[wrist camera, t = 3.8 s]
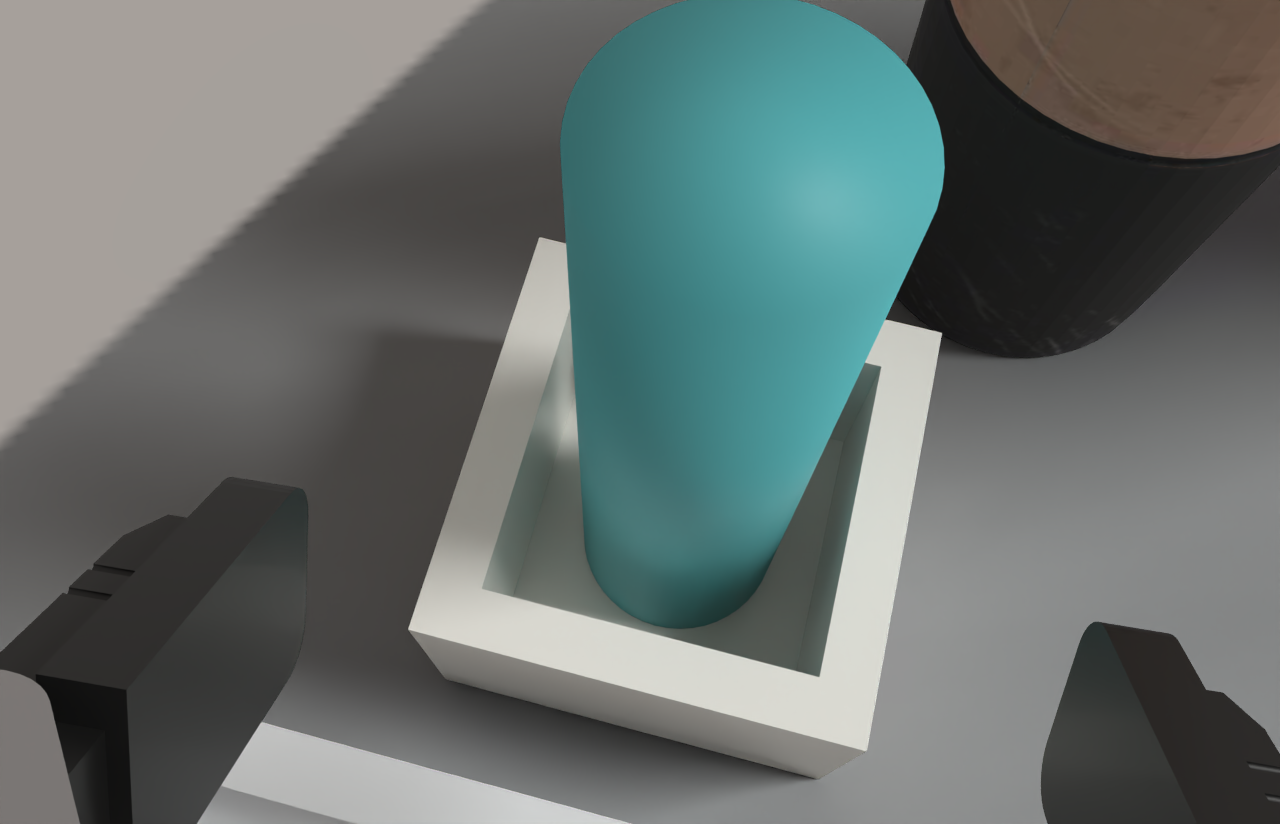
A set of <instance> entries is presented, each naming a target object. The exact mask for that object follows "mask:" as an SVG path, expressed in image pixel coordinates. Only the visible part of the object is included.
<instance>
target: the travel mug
mask: <svg viewBox="0 0 1280 824" xmlns="http://www.w3.org/2000/svg"><path fill="white" fill-rule="evenodd" d="M906 66H907V67H908V68H909V69H910V70H911V72H912V73H913V75H914V76H915V77H916V79H917V80H918V82H919V83H920V85H921V86H922V88H923V89H924V91H925V93H926V95H927V97H928V99H929V101H930V103H931V105H932V107H933V110H934V112H935V115H936V118H937V121H938V123H939V126H940V131H941V136H942V141H943V146H944V165H945V169H944V178H943V187H942V192H941V195H940V199H939V203H938V206H937V210H936V212H935V214H934V216H933V219H932V221H931V223H930V225H929V227H928V230H927V232H926V234H925V236H924V238H923V240H922V242H921V244H920V247H919V249H918V251H917V253H916V255H915V257H914V259H913V261H912V264H911V266H910V268H909V270H908V272H907V274H906V276H905V278H904V281H903V283H902V285H901V287H900V289H899V291H898V293H897V297H898V298H899V299H900V301H901V302H902V303H903V304H904V305H905V306H906V307H907V308H908V309H909V310H910V311H911V312H912V313H913V314H914V315H915V316H917V317H918V318H919V319H920V320H922V321H923V322H924V323H926V324H927V325H928V326H929V327H931V328H933V329H934V330H936V331H937V332H941V333H942V335H944V336H946V337H948V338H950V339H952V340H954V341H956V342H958V343H960V344H963V345H965V346H968V347H971V348H974V349H977V350H980V351H983V352H988V353H992V354H997V355H1002V356H1012V357H1043V356H1050V355H1057V354H1061V353H1065V352H1068V351H1072V350H1076V349H1078V348H1081V347H1083V346H1085V345H1088V344H1090V343H1092V342H1095V341H1097V340H1098V339H1100V338H1102V337H1103V336H1105V335H1106V334H1108V333H1110V332H1111V331H1112V330H1113V329H1115V328H1116V327H1117V326H1118V325H1119V324H1121V323H1122V322H1123V321H1124V320H1125V319H1127V318H1128V317H1129V316H1130V315H1131V314H1132V313H1133V312H1134V311H1135V310H1136V309H1138V308H1139V307H1140V306H1141V305H1142V304H1143V303H1144V302H1145V301H1146V300H1147V299H1148V298H1149V297H1150V296H1151V295H1152V294H1153V293H1154V292H1155V291H1156V290H1157V289H1158V288H1159V287H1160V286H1161V285H1162V284H1163V283H1164V282H1165V281H1166V280H1167V279H1168V278H1169V277H1170V276H1171V275H1172V274H1173V273H1174V272H1175V271H1176V270H1177V269H1178V268H1179V267H1180V266H1181V265H1182V264H1183V263H1184V262H1185V261H1186V260H1187V259H1188V258H1189V257H1190V255H1191V254H1192V253H1193V252H1194V251H1195V250H1196V249H1197V248H1198V247H1199V246H1200V245H1201V244H1202V243H1203V242H1204V241H1205V240H1206V239H1207V238H1208V237H1209V236H1210V235H1211V234H1212V233H1213V232H1214V231H1215V230H1216V229H1217V228H1218V227H1219V226H1220V225H1221V224H1222V223H1223V222H1224V221H1225V220H1226V219H1227V218H1228V217H1229V216H1230V215H1231V214H1232V213H1233V212H1234V211H1235V210H1236V209H1237V208H1238V207H1239V206H1240V205H1241V204H1242V203H1243V202H1244V201H1245V200H1246V199H1247V198H1248V197H1249V196H1250V195H1251V194H1252V193H1253V192H1254V191H1255V190H1256V189H1257V188H1258V187H1259V186H1260V185H1261V183H1262V182H1263V181H1264V180H1265V179H1266V178H1267V177H1268V176H1269V175H1270V174H1271V173H1272V172H1273V171H1274V170H1275V169H1276V168H1277V167H1278V166H1279V165H1280V0H926V2H925V5H924V8H923V12H922V15H921V18H920V22H919V25H918V28H917V32H916V35H915V38H914V42H913V45H912V48H911V52H910V55H909V58H908V61H907V65H906Z"/></svg>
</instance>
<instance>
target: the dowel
mask: <svg viewBox="0 0 1280 824" xmlns="http://www.w3.org/2000/svg"><path fill="white" fill-rule="evenodd" d="M560 153H561V171H562V187H563V203H564V219H565V235H566V252H567V268H568V284H569V300H570V317H571V333H572V349H573V365H574V381H575V398H576V414H577V430H578V446H579V462H580V479H581V495H582V511H583V527H584V544H585V551H586V556H587V560H588V563H589V566H590V569H591V571H592V573H593V576H594V578H595V580H596V581H597V583H598V584H599V586H600V587H601V589H602V590H603V592H604V593H605V594H606V595H607V596H608V597H609V598H610V600H611V601H612V602H614V603H615V604H616V605H617V606H618V607H619V608H620V609H622V610H623V611H625V612H626V613H628V614H629V615H631V616H633V617H635V618H637V619H639V620H641V621H643V622H646V623H649V624H652V625H655V626H660V627H665V628H676V629H685V628H695V627H700V626H705V625H708V624H711V623H714V622H717V621H719V620H721V619H723V618H725V617H727V616H729V615H730V614H732V613H733V612H735V611H736V610H738V609H739V608H740V607H741V606H742V605H744V604H745V603H746V602H747V601H748V600H749V599H750V597H751V596H752V595H753V594H754V593H755V592H756V590H757V588H758V587H759V585H760V584H761V582H762V580H763V578H764V576H765V574H766V572H767V570H768V567H769V565H770V563H771V561H772V559H773V557H774V555H775V553H776V550H777V548H778V546H779V544H780V542H781V540H782V538H783V536H784V533H785V531H786V529H787V527H788V525H789V523H790V521H791V519H792V516H793V514H794V512H795V510H796V508H797V506H798V504H799V502H800V499H801V497H802V495H803V493H804V491H805V489H806V487H807V485H808V482H809V480H810V478H811V476H812V474H813V472H814V470H815V468H816V465H817V463H818V461H819V459H820V457H821V455H822V453H823V451H824V448H825V446H826V444H827V442H828V440H829V438H830V436H831V434H832V431H833V429H834V427H835V425H836V423H837V421H838V419H839V417H840V414H841V412H842V410H843V408H844V406H845V404H846V402H847V400H848V397H849V395H850V393H851V391H852V389H853V387H854V385H855V383H856V380H857V378H858V376H859V374H860V372H861V370H862V368H863V366H864V363H865V361H866V359H867V357H868V355H869V353H870V351H871V349H872V346H873V344H874V342H875V340H876V338H877V336H878V334H879V332H880V329H881V327H882V325H883V323H884V321H885V319H886V317H887V315H888V312H889V310H890V308H891V306H892V304H893V302H894V300H895V298H896V295H897V293H898V291H899V289H900V287H901V285H902V283H903V281H904V278H905V276H906V274H907V272H908V270H909V268H910V266H911V264H912V261H913V259H914V257H915V255H916V253H917V251H918V249H919V247H920V244H921V242H922V240H923V238H924V236H925V234H926V232H927V230H928V227H929V225H930V223H931V221H932V219H933V216H934V214H935V212H936V210H937V206H938V203H939V199H940V195H941V192H942V187H943V178H944V169H945V165H944V146H943V141H942V136H941V131H940V126H939V123H938V121H937V118H936V115H935V112H934V110H933V107H932V105H931V103H930V101H929V99H928V97H927V95H926V93H925V91H924V89H923V88H922V86H921V85H920V83H919V82H918V80H917V79H916V77H915V76H914V75H913V73H912V72H911V70H910V69H909V68H908V67H907V66H906V65H905V64H904V62H903V61H902V60H901V59H900V58H899V57H898V56H897V55H896V54H895V53H894V52H893V51H892V50H891V49H890V48H888V47H887V46H886V45H885V44H884V43H883V42H881V41H880V40H879V39H878V38H877V37H875V36H874V35H872V34H871V33H869V32H868V31H866V30H865V29H863V28H862V27H860V26H859V25H857V24H855V23H854V22H852V21H850V20H848V19H846V18H844V17H842V16H840V15H838V14H836V13H834V12H831V11H828V10H826V9H823V8H821V7H818V6H816V5H813V4H809V3H805V2H802V1H798V0H687V1H683V2H679V3H675V4H673V5H670V6H668V7H665V8H662V9H660V10H657V11H655V12H653V13H651V14H649V15H647V16H645V17H643V18H641V19H639V20H637V21H635V22H634V23H632V24H631V25H629V26H628V27H627V28H625V29H624V30H622V31H621V32H619V33H618V34H616V35H615V36H614V37H613V38H612V39H611V40H610V41H609V42H608V43H606V44H605V45H604V46H603V47H602V48H601V49H600V50H599V51H598V52H597V54H596V55H595V56H594V57H593V58H592V60H591V61H590V62H589V63H588V64H587V66H586V67H585V69H584V70H583V72H582V74H581V75H580V77H579V78H578V80H577V82H576V83H575V86H574V88H573V90H572V93H571V95H570V97H569V99H568V102H567V105H566V109H565V113H564V117H563V121H562V128H561V138H560Z"/></svg>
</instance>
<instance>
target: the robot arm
mask: <svg viewBox="0 0 1280 824" xmlns="http://www.w3.org/2000/svg"><path fill="white" fill-rule="evenodd" d="M307 536H308V504H307V498H306V495H305V492H304V491H303V490H302V489H300V488H295V487H289V486H283V485H277V484H271V483H265V482H259V481H253V480H247V479H241V478H235V477H229V478H227V479H225V480H224V481H223V482H222V483H221V484H220V485H219V486H218V487H217V488H216V489H215V490H214V491H213V492H212V493H211V494H210V495H209V496H208V497H207V498H206V499H205V500H204V501H203V502H202V503H201V505H200V506H199V507H198V508H197V509H196V510H195V511H194V512H193V513H192V514H191V515H190V516H189V517H188V518H185V517H179V516H173V515H167V516H165V517H163V518H160V519H158V520H156V521H154V522H152V523H150V524H147V525H145V526H143V527H141V528H139V529H137V530H134V531H132V532H130V533H128V534H126V535H124V536H122V537H121V538H120V539H119V540H118V541H117V542H116V543H115V544H114V545H113V546H112V547H111V548H110V549H109V550H108V551H107V552H106V553H104V554H103V555H102V556H101V557H100V558H99V559H98V560H97V561H96V562H95V563H94V566H93V569H92V570H87V571H86V572H85V573H83V574H82V575H81V576H80V577H79V578H78V579H77V580H76V581H75V582H74V583H73V584H72V585H71V586H70V587H69V591H68V594H65V593H62V594H61V595H60V596H59V597H58V598H57V599H56V600H55V601H54V602H53V603H52V604H51V605H50V606H49V607H48V608H47V609H46V610H45V611H44V612H42V613H41V614H40V615H39V616H38V617H37V618H36V619H35V620H34V621H33V622H32V623H31V624H30V625H29V626H28V627H27V628H26V629H25V630H24V631H23V632H21V633H20V634H19V635H18V636H17V637H16V638H15V639H14V640H13V641H12V642H11V643H10V644H9V645H8V646H7V647H6V648H5V649H4V650H3V651H2V652H0V824H197V823H198V821H199V819H200V818H201V816H202V815H203V813H204V812H205V810H206V808H207V807H208V805H209V804H210V802H211V801H212V799H213V797H214V796H215V794H216V793H217V791H218V790H219V788H220V786H221V785H222V783H223V782H224V780H225V778H226V777H227V775H228V774H229V772H230V771H231V769H232V767H233V766H234V764H235V763H236V761H237V760H238V758H239V756H240V755H241V753H242V752H243V750H244V749H245V747H246V745H247V744H248V742H249V741H250V739H251V738H252V736H253V734H254V733H255V731H256V730H257V728H258V726H259V725H260V723H261V722H262V720H263V719H264V717H265V715H266V714H267V712H268V711H269V709H270V708H271V706H272V704H273V703H274V701H275V700H276V698H277V697H278V695H279V693H280V692H281V690H282V689H283V687H284V686H285V684H286V682H287V681H288V679H289V677H290V676H291V673H292V671H293V669H294V667H295V664H296V661H297V658H298V655H299V652H300V648H301V644H302V640H303V634H304V628H305V617H306V578H307ZM1041 796H1042V804H1043V809H1044V813H1045V817H1046V820H1047V823H1048V824H1280V754H1279V752H1278V750H1277V749H1276V747H1275V745H1274V744H1273V742H1272V740H1271V739H1270V737H1269V736H1268V734H1267V732H1266V731H1265V729H1264V728H1262V727H1261V726H1260V725H1259V724H1258V723H1257V722H1256V721H1255V720H1253V719H1252V718H1251V717H1250V716H1249V715H1248V714H1247V713H1245V712H1244V711H1243V710H1242V709H1241V708H1240V707H1239V706H1238V705H1236V704H1235V703H1234V702H1233V701H1232V700H1231V699H1230V698H1228V697H1227V696H1226V695H1225V694H1224V693H1221V692H1215V691H1209V690H1206V689H1205V687H1204V685H1203V684H1202V682H1201V680H1200V678H1199V677H1198V675H1197V673H1196V671H1195V669H1194V668H1193V666H1192V664H1191V662H1190V661H1189V659H1188V657H1187V655H1186V654H1185V652H1184V650H1183V648H1182V646H1181V645H1180V643H1179V641H1178V640H1177V639H1176V637H1174V636H1173V635H1171V634H1168V633H1162V632H1156V631H1150V630H1144V629H1138V628H1132V627H1126V626H1120V625H1114V624H1108V623H1102V622H1093V623H1092V624H1090V625H1089V626H1088V627H1087V629H1086V630H1085V632H1084V634H1083V636H1082V638H1081V640H1080V643H1079V646H1078V649H1077V652H1076V655H1075V658H1074V661H1073V664H1072V667H1071V670H1070V674H1069V677H1068V680H1067V683H1066V686H1065V689H1064V692H1063V695H1062V698H1061V701H1060V704H1059V707H1058V710H1057V713H1056V716H1055V720H1054V723H1053V726H1052V729H1051V732H1050V735H1049V738H1048V741H1047V744H1046V748H1045V752H1044V757H1043V763H1042V772H1041Z"/></svg>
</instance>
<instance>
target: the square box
mask: <svg viewBox="0 0 1280 824" xmlns="http://www.w3.org/2000/svg"><path fill="white" fill-rule="evenodd" d="M941 336H942V333H941V332H936V331H932V330H928V329H924V328H919V327H915V326H911V325H907V324H903V323H898V322H894V321H890V320H886V319H885V321H884V323H883V325H882V327H881V329H880V332H879V334H878V336H877V338H876V340H875V342H874V344H873V346H872V349H871V351H870V353H869V355H868V357H867V359H866V361H865V363H864V366H863V368H862V370H861V372H860V374H859V376H858V378H857V380H856V383H855V385H854V387H853V389H852V391H851V393H850V395H849V397H848V400H847V402H846V404H845V406H844V408H843V410H842V412H841V414H840V417H839V419H838V421H837V423H836V425H835V427H834V429H833V431H832V434H831V436H830V438H829V440H828V442H827V444H826V446H825V448H824V451H823V453H822V455H821V457H820V459H819V461H818V463H817V465H816V468H815V470H814V472H813V474H812V476H811V478H810V480H809V482H808V485H807V487H806V489H805V491H804V493H803V495H802V497H801V499H800V502H799V504H798V506H797V508H796V510H795V512H794V514H793V516H792V519H791V521H790V523H789V525H788V527H787V529H786V531H785V533H784V536H783V538H782V540H781V542H780V544H779V546H778V548H777V550H776V553H775V555H774V557H773V559H772V561H771V563H770V565H769V567H768V570H767V572H766V574H765V576H764V578H763V580H762V582H761V584H760V585H759V587H758V588H757V590H756V592H755V593H754V594H753V595H752V596H751V597H750V599H749V600H748V601H747V602H746V603H745V604H744V605H742V606H741V607H740V608H739V609H738V610H736V611H735V612H733V613H732V614H730V615H729V616H727V617H725V618H723V619H721V620H719V621H717V622H714V623H711V624H708V625H705V626H700V627H695V628H685V629H676V628H665V627H660V626H655V625H652V624H649V623H646V622H643V621H641V620H639V619H637V618H635V617H633V616H631V615H629V614H628V613H626V612H625V611H623V610H622V609H620V608H619V607H618V606H617V605H616V604H615V603H614V602H612V601H611V600H610V598H609V597H608V596H607V595H606V594H605V593H604V592H603V590H602V589H601V587H600V586H599V584H598V583H597V581H596V580H595V578H594V576H593V573H592V571H591V569H590V566H589V563H588V560H587V556H586V551H585V544H584V527H583V511H582V495H581V479H580V462H579V446H578V430H577V414H576V398H575V381H574V365H573V349H572V333H571V317H570V300H569V284H568V268H567V252H566V243H562V242H558V241H553V240H549V239H545V238H541V237H539V240H538V243H537V246H536V249H535V252H534V255H533V258H532V261H531V264H530V267H529V270H528V273H527V276H526V279H525V282H524V285H523V288H522V291H521V294H520V297H519V300H518V303H517V306H516V309H515V312H514V315H513V318H512V321H511V324H510V327H509V330H508V333H507V336H506V339H505V342H504V345H503V348H502V351H501V354H500V357H499V360H498V363H497V366H496V369H495V371H494V374H493V377H492V380H491V383H490V386H489V389H488V392H487V395H486V398H485V401H484V404H483V407H482V410H481V413H480V416H479V419H478V422H477V425H476V428H475V431H474V434H473V437H472V440H471V443H470V446H469V449H468V452H467V455H466V458H465V461H464V464H463V467H462V470H461V473H460V476H459V479H458V482H457V485H456V488H455V491H454V494H453V497H452V500H451V503H450V506H449V509H448V512H447V515H446V518H445V521H444V524H443V527H442V530H441V533H440V536H439V539H438V542H437V545H436V548H435V551H434V554H433V557H432V559H431V562H430V565H429V568H428V571H427V574H426V577H425V580H424V583H423V586H422V589H421V592H420V595H419V598H418V601H417V604H416V607H415V610H414V613H413V616H412V619H411V622H410V625H409V628H408V630H409V631H410V633H411V634H412V635H413V637H414V638H415V639H416V641H417V642H418V643H419V645H420V646H421V647H422V649H423V650H424V651H425V653H426V654H427V655H428V656H429V658H430V659H431V660H432V662H433V663H434V664H435V666H436V667H437V668H438V670H439V671H440V672H441V674H442V675H443V676H444V678H445V679H447V680H450V681H454V682H458V683H461V684H465V685H469V686H473V687H476V688H480V689H484V690H487V691H491V692H495V693H499V694H502V695H506V696H510V697H514V698H517V699H521V700H525V701H528V702H532V703H536V704H540V705H543V706H547V707H551V708H555V709H558V710H562V711H566V712H569V713H573V714H577V715H581V716H584V717H588V718H592V719H596V720H599V721H603V722H607V723H610V724H614V725H618V726H622V727H625V728H629V729H633V730H637V731H640V732H644V733H648V734H651V735H655V736H659V737H663V738H666V739H670V740H674V741H678V742H681V743H685V744H689V745H692V746H696V747H700V748H704V749H707V750H711V751H715V752H718V753H722V754H726V755H730V756H733V757H737V758H741V759H745V760H748V761H752V762H756V763H759V764H763V765H767V766H771V767H774V768H778V769H782V770H786V771H789V772H793V773H797V774H800V775H804V776H808V777H812V778H815V779H820V778H822V777H824V776H825V775H827V774H829V773H831V772H832V771H834V770H836V769H837V768H839V767H841V766H843V765H844V764H846V763H848V762H849V761H851V760H853V759H855V758H856V757H858V756H860V755H861V754H863V753H865V752H867V747H868V741H869V736H870V730H871V725H872V719H873V714H874V708H875V703H876V697H877V691H878V686H879V680H880V675H881V669H882V664H883V658H884V653H885V647H886V642H887V636H888V630H889V625H890V619H891V614H892V608H893V603H894V597H895V592H896V586H897V580H898V575H899V569H900V564H901V558H902V553H903V547H904V542H905V536H906V530H907V525H908V519H909V514H910V508H911V503H912V497H913V492H914V486H915V480H916V475H917V469H918V464H919V458H920V453H921V447H922V442H923V436H924V430H925V425H926V419H927V414H928V408H929V403H930V397H931V392H932V386H933V381H934V375H935V369H936V364H937V358H938V353H939V347H940V342H941Z"/></svg>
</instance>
